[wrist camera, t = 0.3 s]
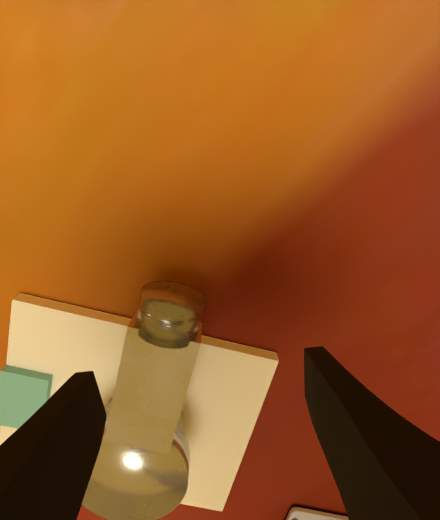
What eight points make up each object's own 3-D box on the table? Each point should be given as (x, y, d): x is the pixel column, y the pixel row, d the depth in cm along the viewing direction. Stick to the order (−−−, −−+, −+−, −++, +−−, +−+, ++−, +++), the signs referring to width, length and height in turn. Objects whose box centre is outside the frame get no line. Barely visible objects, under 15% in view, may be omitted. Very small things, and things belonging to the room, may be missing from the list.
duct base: (222, 499, 28) (222, 543, 25) (4, 457, 27) (-24, 499, 23) (276, 352, 24) (285, 384, 21) (20, 292, 22) (-12, 317, 19)
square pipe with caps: (177, 492, 24) (171, 544, 21) (77, 473, 23) (55, 523, 20) (239, 297, 19) (243, 327, 16) (115, 267, 19) (95, 292, 16)
